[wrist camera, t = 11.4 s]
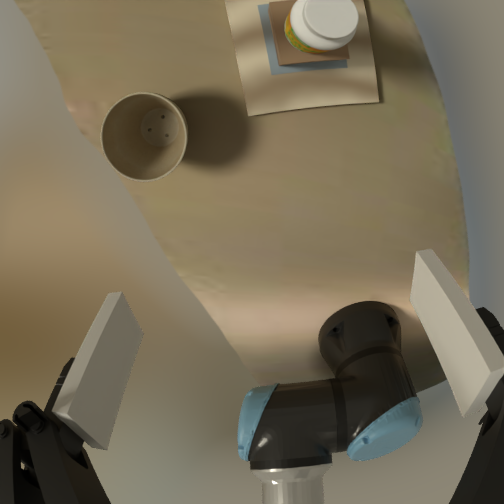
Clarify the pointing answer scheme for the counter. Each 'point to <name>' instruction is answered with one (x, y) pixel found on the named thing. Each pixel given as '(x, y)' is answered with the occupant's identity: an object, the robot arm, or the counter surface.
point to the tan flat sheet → (297, 65)
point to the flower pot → (144, 136)
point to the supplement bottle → (321, 25)
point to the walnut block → (283, 46)
